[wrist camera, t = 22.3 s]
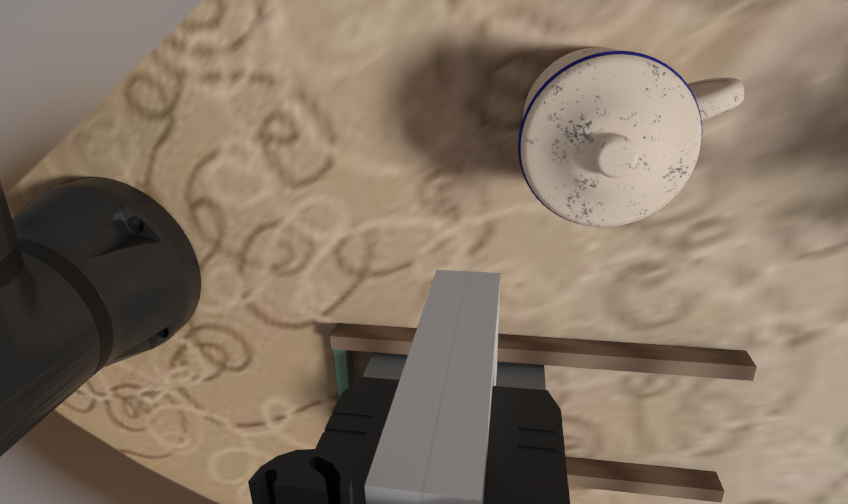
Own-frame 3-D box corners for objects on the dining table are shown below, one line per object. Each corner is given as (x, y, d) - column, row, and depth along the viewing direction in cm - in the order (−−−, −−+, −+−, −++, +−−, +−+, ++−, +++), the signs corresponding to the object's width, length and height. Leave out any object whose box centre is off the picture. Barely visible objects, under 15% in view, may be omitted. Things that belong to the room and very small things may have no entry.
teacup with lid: (540, 199, 39) (546, 269, 28) (501, 72, 36) (493, 96, 25) (722, 146, 36) (808, 202, 25) (697, 1, 33) (780, -4, 22)
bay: (349, 445, 51) (342, 461, 49) (337, 323, 46) (330, 336, 44) (713, 483, 46) (721, 502, 44) (746, 351, 41) (756, 366, 39)
